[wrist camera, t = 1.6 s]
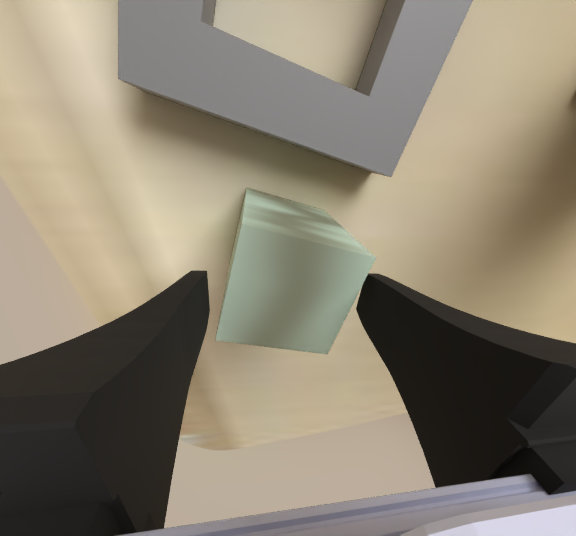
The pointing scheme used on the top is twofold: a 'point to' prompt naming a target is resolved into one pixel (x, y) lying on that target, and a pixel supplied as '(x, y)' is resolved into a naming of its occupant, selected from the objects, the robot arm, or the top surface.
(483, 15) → the top surface
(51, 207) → the top surface
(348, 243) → the sage green block
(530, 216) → the top surface
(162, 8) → the well block
